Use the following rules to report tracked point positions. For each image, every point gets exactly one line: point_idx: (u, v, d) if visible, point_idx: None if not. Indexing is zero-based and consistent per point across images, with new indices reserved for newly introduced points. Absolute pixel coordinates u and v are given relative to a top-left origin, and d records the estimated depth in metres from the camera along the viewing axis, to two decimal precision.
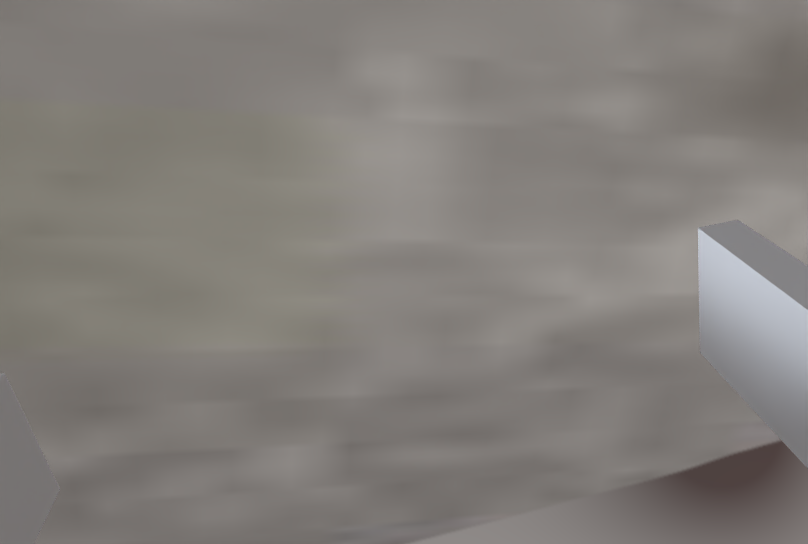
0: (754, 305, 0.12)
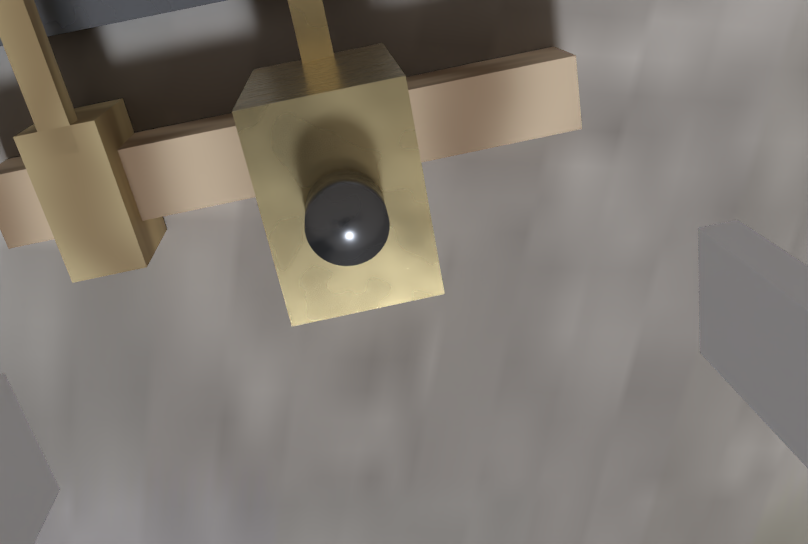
0: (755, 305, 0.12)
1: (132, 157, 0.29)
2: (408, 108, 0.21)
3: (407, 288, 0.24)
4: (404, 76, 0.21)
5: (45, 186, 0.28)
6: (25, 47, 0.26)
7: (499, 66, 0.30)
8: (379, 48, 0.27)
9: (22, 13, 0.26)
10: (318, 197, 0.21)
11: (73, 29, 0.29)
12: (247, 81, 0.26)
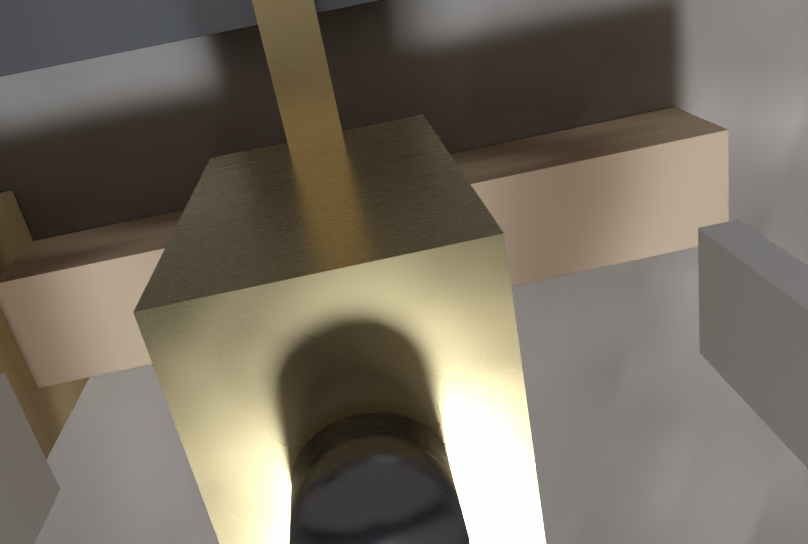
0: (755, 305, 0.12)
1: (16, 295, 0.18)
2: (506, 295, 0.10)
3: None
4: (501, 234, 0.10)
5: None
6: None
7: (601, 144, 0.19)
8: (421, 129, 0.16)
9: None
10: (319, 508, 0.09)
11: None
12: (192, 194, 0.14)
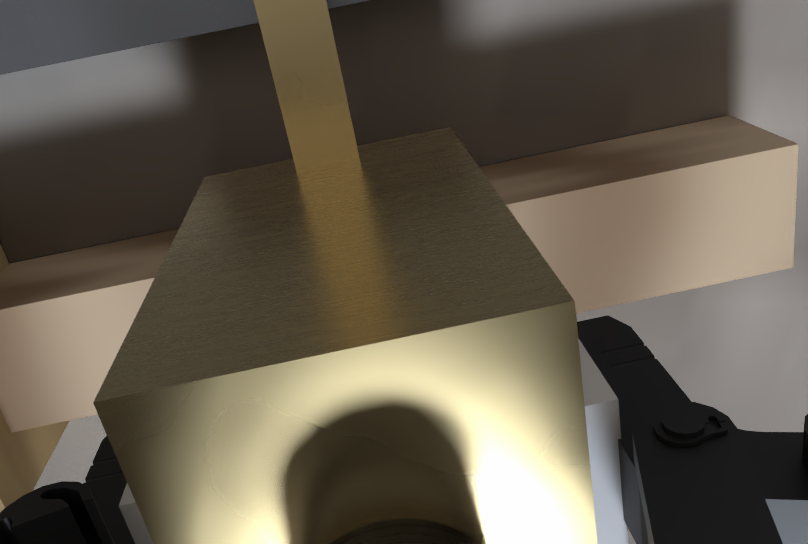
0: None
1: None
2: (573, 377, 0.08)
3: None
4: (571, 302, 0.08)
5: None
6: None
7: (650, 158, 0.17)
8: (449, 145, 0.14)
9: None
10: None
11: None
12: None
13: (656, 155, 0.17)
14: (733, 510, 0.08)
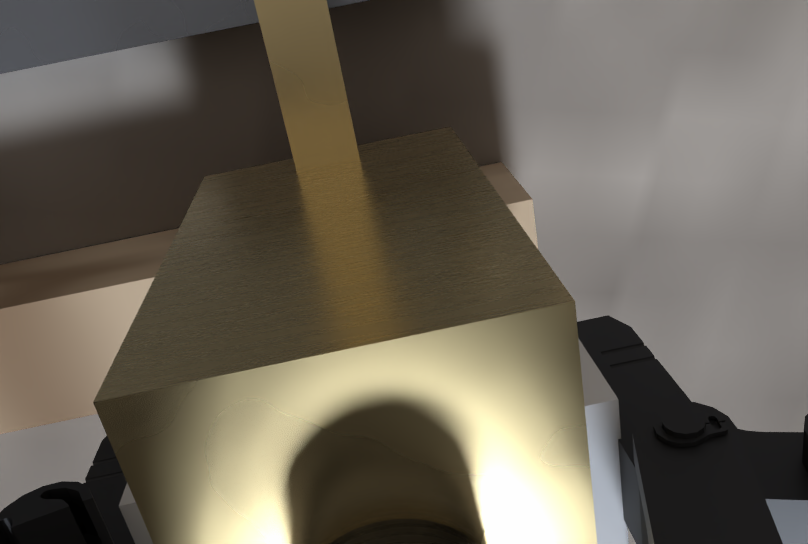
0: None
1: None
2: (573, 377, 0.08)
3: None
4: (571, 302, 0.08)
5: None
6: None
7: None
8: (450, 145, 0.14)
9: None
10: None
11: None
12: (180, 225, 0.12)
13: None
14: (733, 510, 0.08)
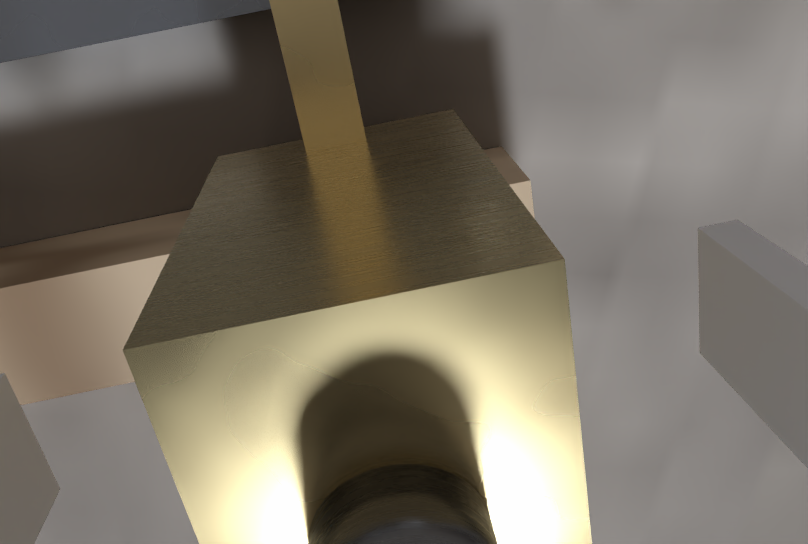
0: (754, 305, 0.12)
1: None
2: (564, 331, 0.09)
3: None
4: (561, 260, 0.08)
5: None
6: None
7: None
8: (452, 126, 0.14)
9: None
10: None
11: None
12: (196, 200, 0.13)
13: None
14: None
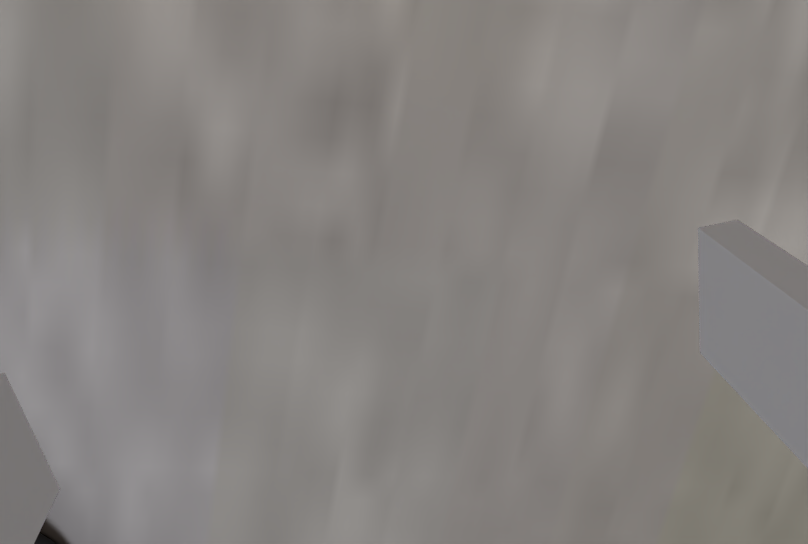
0: (755, 305, 0.12)
1: None
2: None
3: None
4: None
5: None
6: None
7: None
8: None
9: None
10: None
11: None
12: None
13: None
14: None
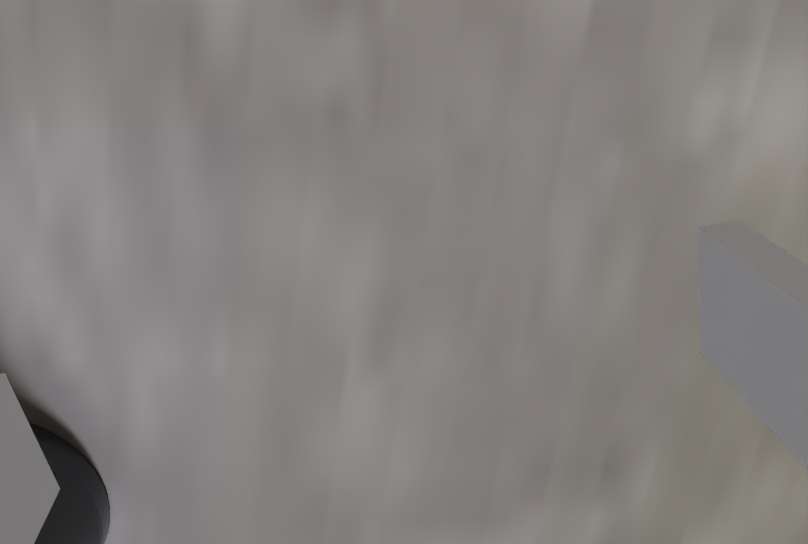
0: (755, 305, 0.12)
1: None
2: None
3: None
4: None
5: None
6: None
7: None
8: None
9: None
10: None
11: None
12: None
13: None
14: None
